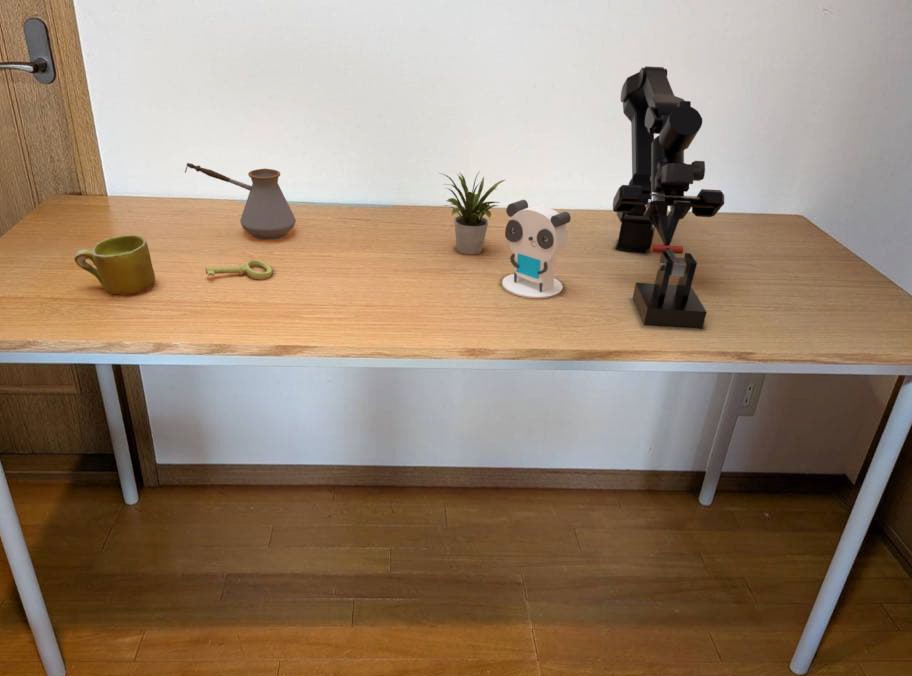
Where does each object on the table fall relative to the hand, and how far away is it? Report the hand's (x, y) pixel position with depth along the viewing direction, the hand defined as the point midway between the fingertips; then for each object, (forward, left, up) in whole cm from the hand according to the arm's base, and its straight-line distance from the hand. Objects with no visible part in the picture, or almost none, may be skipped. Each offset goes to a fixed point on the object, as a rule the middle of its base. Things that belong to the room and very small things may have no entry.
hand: (667, 244), depth 134 cm
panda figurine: (-22, -7, -10) cm, 25 cm away
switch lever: (+2, -4, -2) cm, 5 cm away
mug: (-88, -43, -10) cm, 99 cm away
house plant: (-40, +4, -10) cm, 42 cm away
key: (-73, -28, -10) cm, 79 cm away
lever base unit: (+3, -8, -10) cm, 13 cm away
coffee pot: (-84, -10, -10) cm, 86 cm away
